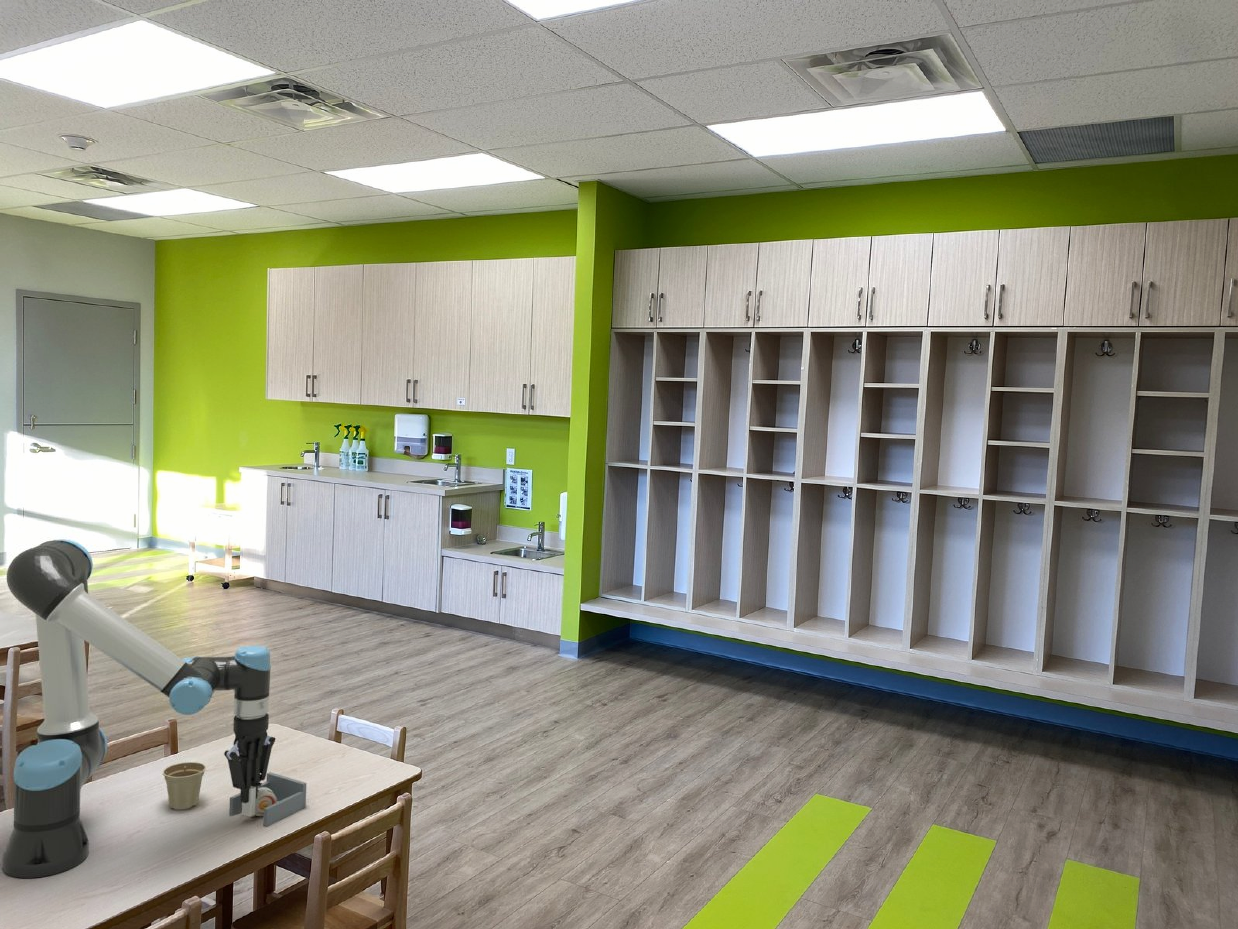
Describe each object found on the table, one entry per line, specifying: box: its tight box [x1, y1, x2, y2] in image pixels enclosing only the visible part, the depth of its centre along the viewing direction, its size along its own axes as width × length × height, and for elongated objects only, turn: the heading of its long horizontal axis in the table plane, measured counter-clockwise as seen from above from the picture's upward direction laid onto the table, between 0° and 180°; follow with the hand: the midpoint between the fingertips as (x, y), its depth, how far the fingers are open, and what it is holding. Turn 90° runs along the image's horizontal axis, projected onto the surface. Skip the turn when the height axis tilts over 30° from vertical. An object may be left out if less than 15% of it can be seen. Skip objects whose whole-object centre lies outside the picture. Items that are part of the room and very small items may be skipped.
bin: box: [228, 771, 307, 827], centre depth 214 cm, size 12×12×6 cm
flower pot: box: [162, 761, 207, 811], centre depth 215 cm, size 9×9×9 cm
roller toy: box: [250, 787, 278, 818], centre depth 212 cm, size 4×6×6 cm
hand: (248, 814), depth 208 cm, fingers closed
